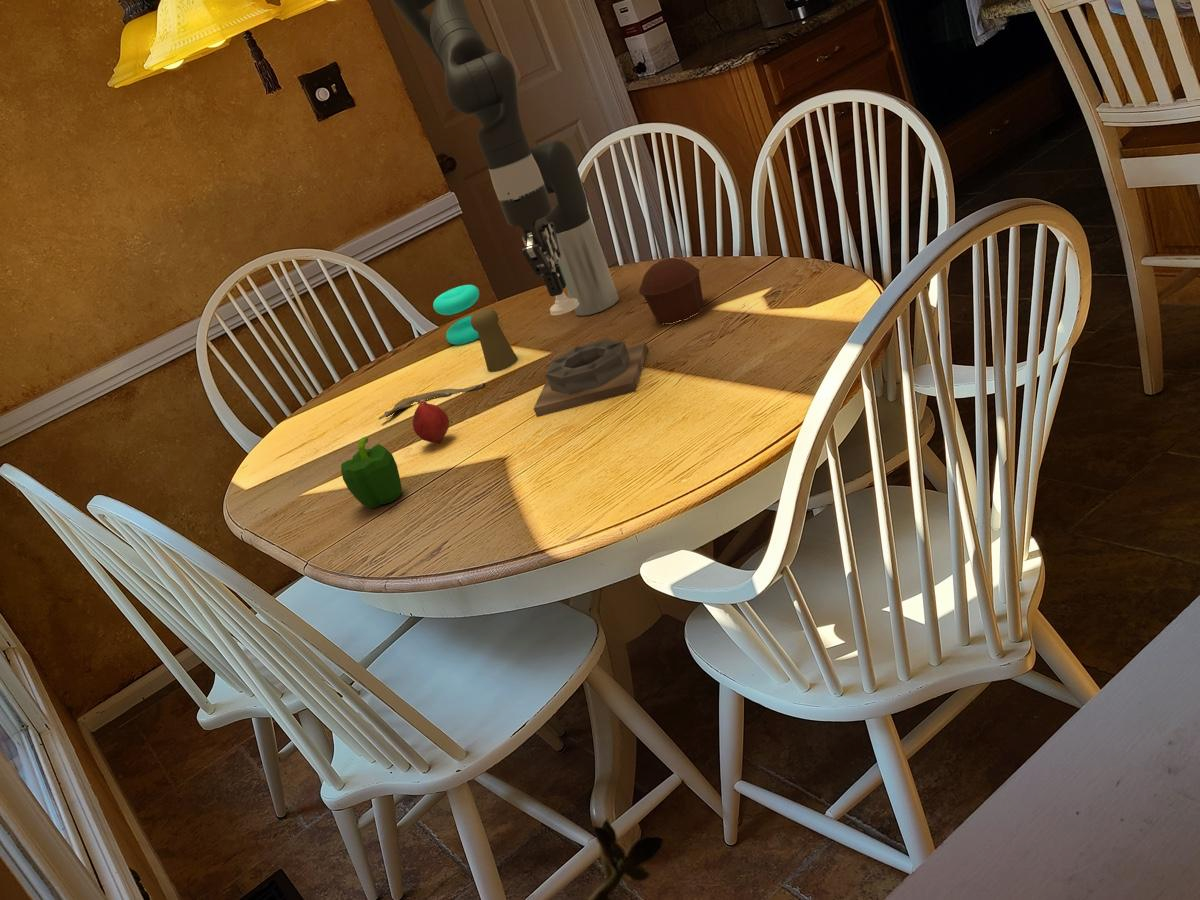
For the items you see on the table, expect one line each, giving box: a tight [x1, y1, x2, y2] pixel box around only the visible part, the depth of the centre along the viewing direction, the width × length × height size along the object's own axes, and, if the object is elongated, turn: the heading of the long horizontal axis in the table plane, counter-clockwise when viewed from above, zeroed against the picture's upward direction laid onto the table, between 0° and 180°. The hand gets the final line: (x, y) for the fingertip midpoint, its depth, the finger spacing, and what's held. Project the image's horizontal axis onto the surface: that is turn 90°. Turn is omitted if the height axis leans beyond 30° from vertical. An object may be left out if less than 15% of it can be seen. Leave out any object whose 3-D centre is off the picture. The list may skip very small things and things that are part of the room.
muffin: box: [638, 257, 705, 325], centre depth 198 cm, size 12×11×10 cm
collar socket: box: [533, 338, 649, 417], centre depth 184 cm, size 17×17×4 cm
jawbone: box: [378, 382, 487, 421], centre depth 206 cm, size 9×20×2 cm, turn 96°
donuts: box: [432, 284, 480, 346], centre depth 231 cm, size 10×10×10 cm
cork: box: [471, 308, 519, 373], centre depth 207 cm, size 6×6×11 cm
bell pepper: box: [340, 436, 403, 509], centre depth 169 cm, size 8×8×10 cm
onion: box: [412, 399, 450, 444], centre depth 183 cm, size 6×6×8 cm
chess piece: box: [541, 252, 579, 316], centre depth 178 cm, size 5×5×10 cm
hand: (558, 291), depth 178 cm, fingers closed on chess piece
